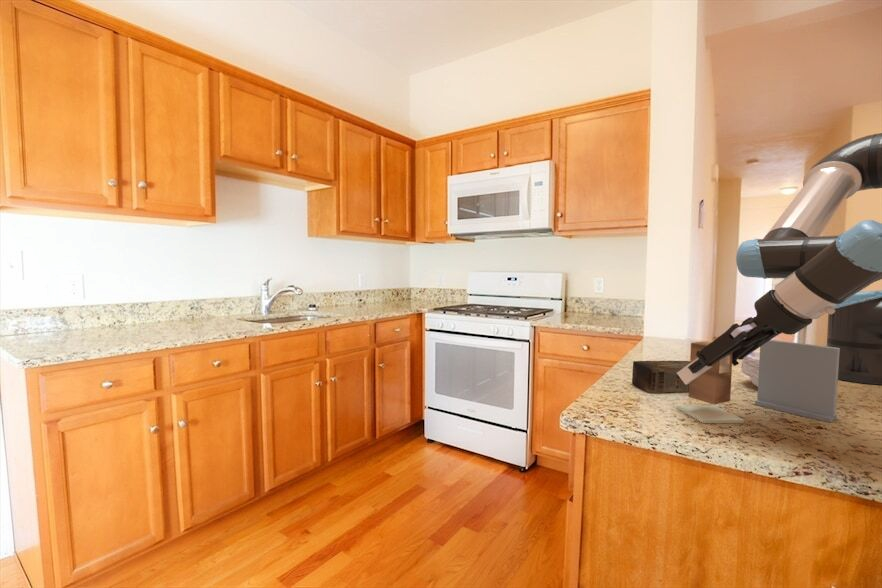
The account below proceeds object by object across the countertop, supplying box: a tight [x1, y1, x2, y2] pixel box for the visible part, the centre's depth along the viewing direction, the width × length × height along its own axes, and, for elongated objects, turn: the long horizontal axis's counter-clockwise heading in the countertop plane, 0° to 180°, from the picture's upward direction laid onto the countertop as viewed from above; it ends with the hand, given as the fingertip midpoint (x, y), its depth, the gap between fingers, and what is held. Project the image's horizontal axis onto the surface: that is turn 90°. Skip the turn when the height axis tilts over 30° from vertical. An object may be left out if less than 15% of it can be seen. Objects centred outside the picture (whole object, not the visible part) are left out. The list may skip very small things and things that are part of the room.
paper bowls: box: [740, 350, 760, 388], centre depth 97 cm, size 15×15×8 cm
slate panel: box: [754, 339, 840, 423], centre depth 82 cm, size 12×4×14 cm, turn 33°
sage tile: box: [676, 404, 745, 424], centre depth 80 cm, size 8×8×1 cm
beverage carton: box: [631, 360, 690, 394], centre depth 98 cm, size 8×19×7 cm, turn 95°
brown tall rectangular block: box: [688, 340, 733, 406], centre depth 79 cm, size 5×5×11 cm
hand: (691, 376), depth 83 cm, fingers closed on brown tall rectangular block, 5 cm apart
